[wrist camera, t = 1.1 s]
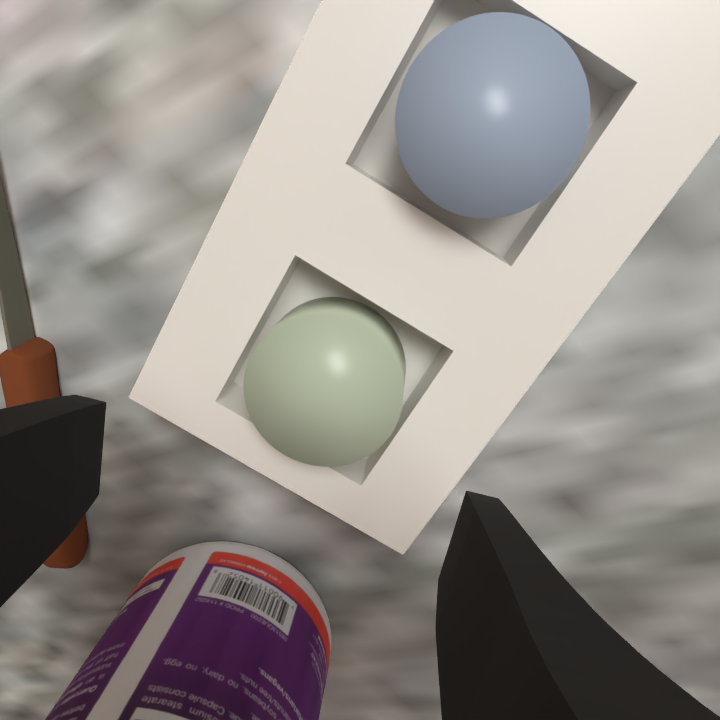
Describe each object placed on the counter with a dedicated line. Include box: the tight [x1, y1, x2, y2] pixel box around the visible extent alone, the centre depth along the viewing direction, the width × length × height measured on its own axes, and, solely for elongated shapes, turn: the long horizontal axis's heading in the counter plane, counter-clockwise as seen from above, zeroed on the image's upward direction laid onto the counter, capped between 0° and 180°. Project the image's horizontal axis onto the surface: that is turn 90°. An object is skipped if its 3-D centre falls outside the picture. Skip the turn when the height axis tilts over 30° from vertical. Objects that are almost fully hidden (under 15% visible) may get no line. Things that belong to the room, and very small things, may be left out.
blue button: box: [395, 12, 590, 219], centre depth 15 cm, size 4×4×2 cm
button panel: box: [129, 0, 720, 555], centre depth 16 cm, size 10×24×3 cm, turn 150°
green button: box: [243, 297, 406, 467], centre depth 17 cm, size 4×4×2 cm
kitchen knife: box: [0, 177, 87, 568], centre depth 21 cm, size 16×1×2 cm, turn 1°
